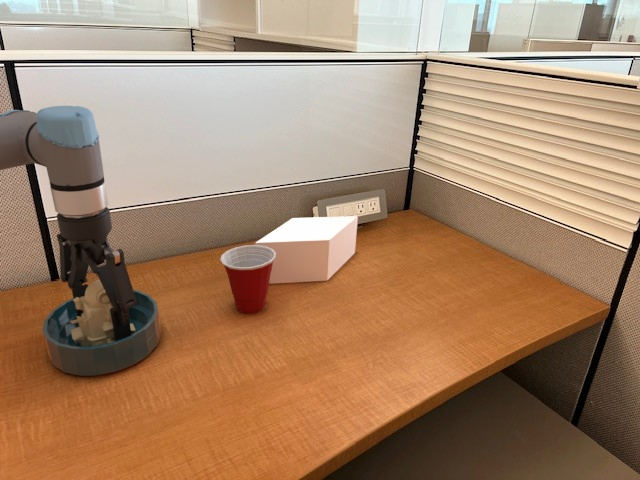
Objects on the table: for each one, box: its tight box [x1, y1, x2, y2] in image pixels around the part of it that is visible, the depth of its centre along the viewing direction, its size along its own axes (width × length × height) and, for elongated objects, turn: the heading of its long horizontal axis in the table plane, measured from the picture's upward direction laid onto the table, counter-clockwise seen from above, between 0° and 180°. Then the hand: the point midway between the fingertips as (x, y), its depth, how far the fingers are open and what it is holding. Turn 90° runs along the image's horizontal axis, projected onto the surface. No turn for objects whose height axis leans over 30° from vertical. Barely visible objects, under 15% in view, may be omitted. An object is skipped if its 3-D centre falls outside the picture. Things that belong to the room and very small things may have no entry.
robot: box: [70, 264, 136, 346], centre depth 82 cm, size 10×8×15 cm
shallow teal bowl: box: [41, 289, 162, 377], centre depth 84 cm, size 18×18×6 cm
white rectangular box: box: [254, 215, 359, 285], centre depth 112 cm, size 14×29×10 cm, turn 127°
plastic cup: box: [220, 244, 276, 315], centre depth 96 cm, size 11×11×12 cm
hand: (104, 328), depth 84 cm, fingers closed on robot, 9 cm apart
